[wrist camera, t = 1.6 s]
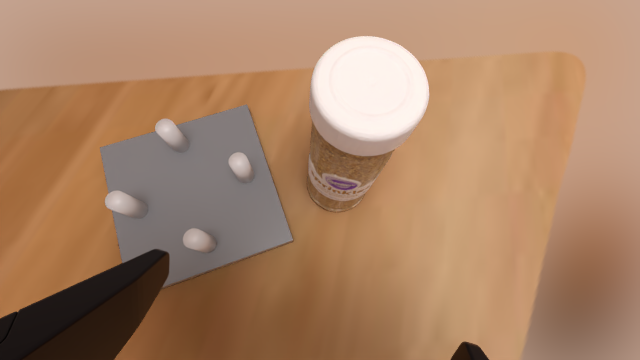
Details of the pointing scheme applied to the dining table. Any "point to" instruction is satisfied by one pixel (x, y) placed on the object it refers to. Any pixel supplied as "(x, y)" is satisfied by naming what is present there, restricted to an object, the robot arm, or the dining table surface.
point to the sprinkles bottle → (360, 116)
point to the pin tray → (195, 194)
